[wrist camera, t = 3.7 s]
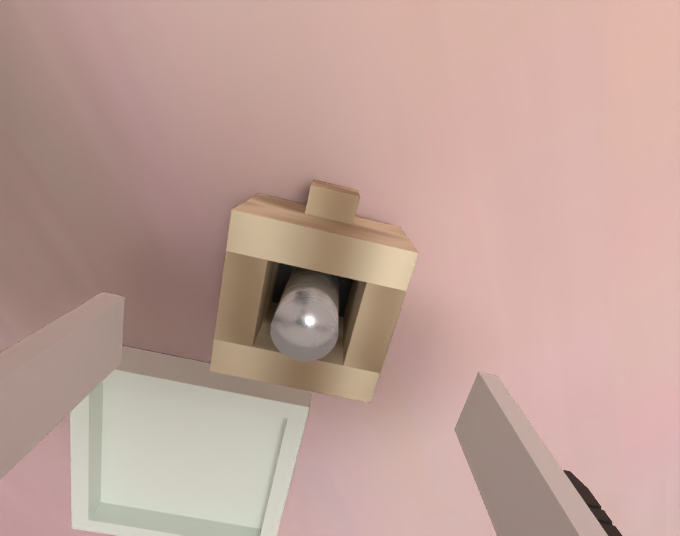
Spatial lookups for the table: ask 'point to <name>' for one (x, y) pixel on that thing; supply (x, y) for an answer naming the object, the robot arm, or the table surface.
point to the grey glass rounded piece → (307, 311)
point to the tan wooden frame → (319, 255)
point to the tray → (183, 450)
